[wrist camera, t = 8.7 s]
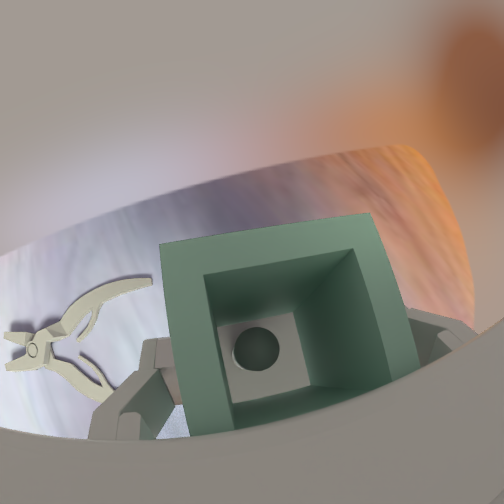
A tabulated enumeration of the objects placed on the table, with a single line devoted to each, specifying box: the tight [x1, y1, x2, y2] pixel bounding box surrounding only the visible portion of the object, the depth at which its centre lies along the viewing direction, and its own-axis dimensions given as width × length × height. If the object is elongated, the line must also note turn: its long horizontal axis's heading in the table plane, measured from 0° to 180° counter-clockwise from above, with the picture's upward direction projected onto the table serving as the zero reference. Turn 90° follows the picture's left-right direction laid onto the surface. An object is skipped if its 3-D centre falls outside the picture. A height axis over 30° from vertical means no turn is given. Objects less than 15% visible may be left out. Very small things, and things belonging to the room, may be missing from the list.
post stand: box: [217, 312, 310, 403], centre depth 16 cm, size 8×8×8 cm
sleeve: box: [159, 213, 421, 437], centre depth 10 cm, size 6×6×8 cm
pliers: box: [4, 278, 153, 403], centre depth 18 cm, size 10×2×15 cm
